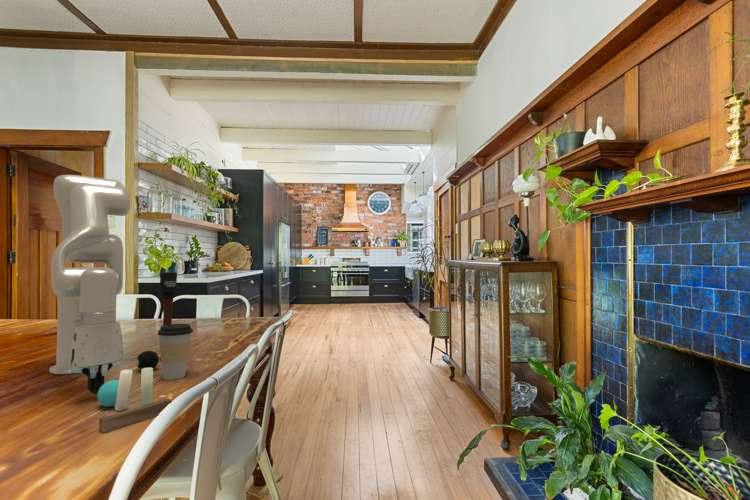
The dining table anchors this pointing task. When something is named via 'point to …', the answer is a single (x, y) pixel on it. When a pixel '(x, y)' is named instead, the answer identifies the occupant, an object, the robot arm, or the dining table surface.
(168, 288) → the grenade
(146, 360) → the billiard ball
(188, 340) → the coffee cup
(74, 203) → the robot arm
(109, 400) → the ball
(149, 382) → the sage pin
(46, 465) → the dining table surface
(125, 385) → the cream pin
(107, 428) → the walnut rail
